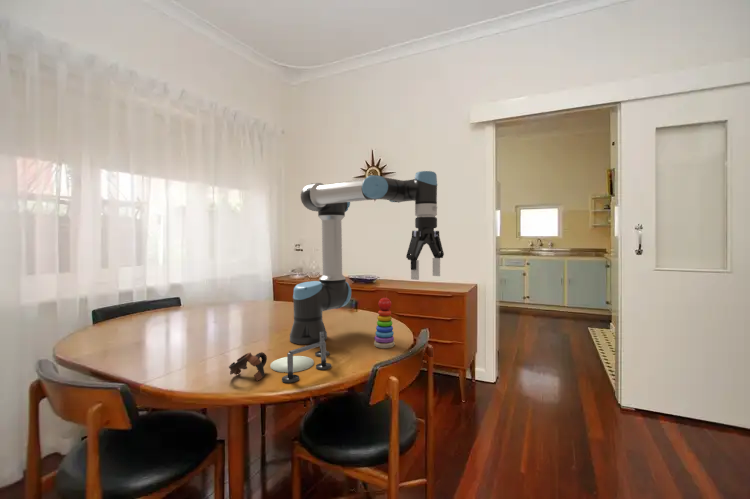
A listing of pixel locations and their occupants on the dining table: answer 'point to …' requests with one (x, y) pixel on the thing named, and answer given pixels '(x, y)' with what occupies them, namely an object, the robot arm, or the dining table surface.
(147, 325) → the dining table surface
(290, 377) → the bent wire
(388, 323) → the stacking toy
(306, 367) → the sage pad
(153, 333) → the dining table surface
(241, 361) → the brown angular figure
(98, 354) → the dining table surface
